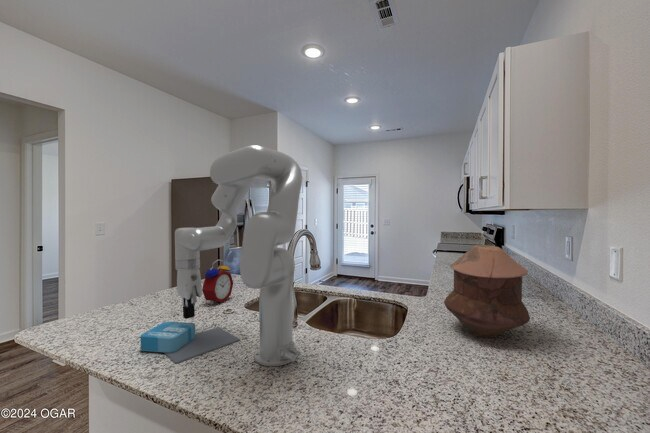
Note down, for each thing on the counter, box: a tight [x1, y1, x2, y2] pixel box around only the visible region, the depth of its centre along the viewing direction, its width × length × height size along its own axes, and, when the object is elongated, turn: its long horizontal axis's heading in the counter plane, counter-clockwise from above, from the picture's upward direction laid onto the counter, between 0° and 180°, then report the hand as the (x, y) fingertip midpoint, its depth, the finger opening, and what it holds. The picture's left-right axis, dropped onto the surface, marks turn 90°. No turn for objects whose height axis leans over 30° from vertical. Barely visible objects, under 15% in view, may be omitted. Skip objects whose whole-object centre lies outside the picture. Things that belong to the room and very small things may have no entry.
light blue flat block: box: [140, 321, 196, 354], centre depth 93 cm, size 12×4×12 cm
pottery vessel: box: [443, 244, 531, 338], centre depth 100 cm, size 26×26×30 cm
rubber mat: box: [163, 326, 241, 365], centre depth 94 cm, size 15×20×1 cm
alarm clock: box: [202, 259, 234, 306], centre depth 137 cm, size 15×9×20 cm, turn 162°
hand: (189, 317), depth 99 cm, fingers closed
